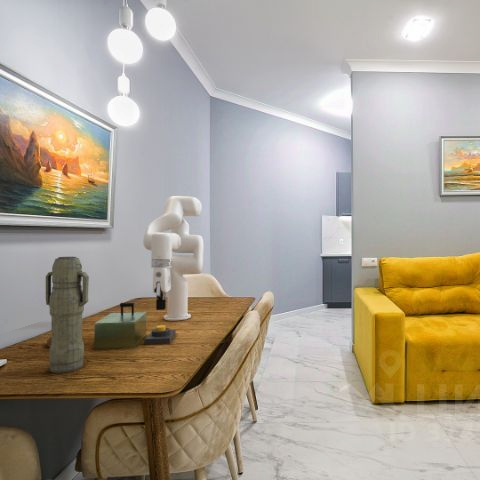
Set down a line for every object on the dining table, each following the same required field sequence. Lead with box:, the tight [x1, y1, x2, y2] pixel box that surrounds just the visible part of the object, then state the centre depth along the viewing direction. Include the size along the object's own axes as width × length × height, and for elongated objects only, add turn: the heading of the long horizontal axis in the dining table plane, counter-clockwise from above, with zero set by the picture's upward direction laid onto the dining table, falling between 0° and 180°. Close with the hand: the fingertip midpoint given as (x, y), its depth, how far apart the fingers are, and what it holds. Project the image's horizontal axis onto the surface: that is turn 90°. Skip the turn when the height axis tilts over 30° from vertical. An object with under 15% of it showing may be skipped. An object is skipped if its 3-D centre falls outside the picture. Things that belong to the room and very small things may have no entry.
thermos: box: [45, 256, 90, 374], centre depth 111 cm, size 9×12×35 cm
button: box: [155, 324, 167, 331], centre depth 141 cm, size 4×4×2 cm
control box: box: [144, 327, 177, 346], centre depth 141 cm, size 12×9×4 cm
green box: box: [93, 314, 147, 350], centre depth 137 cm, size 16×14×9 cm
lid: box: [93, 301, 148, 326], centre depth 137 cm, size 16×14×5 cm
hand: (160, 309), depth 140 cm, fingers closed
